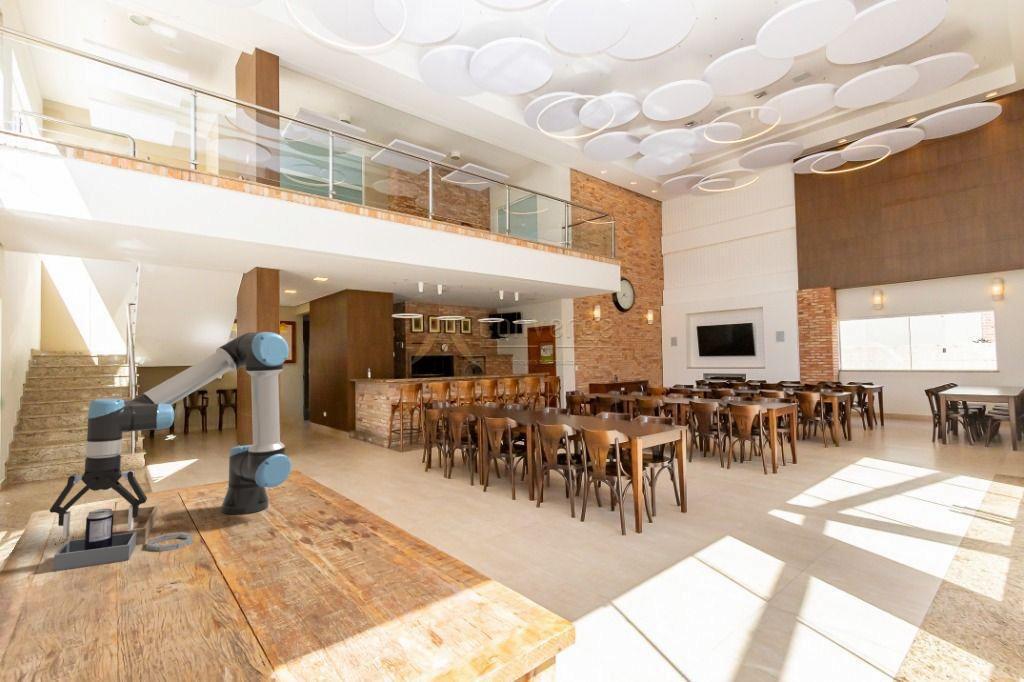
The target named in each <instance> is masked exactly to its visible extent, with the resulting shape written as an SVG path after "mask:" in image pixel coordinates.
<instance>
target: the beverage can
mask: <svg viewBox="0 0 1024 682" xmlns="http://www.w3.org/2000/svg"><path fill="white" fill-rule="evenodd" d="M112 511H113V509H111V508H99V509H94V510H91V511H89V512H88V515H87V516H86V520H85V532H84V533H85V534H84V535H85V536H84V537H85V549H84V550H92V549H99V548H107V547H112V533H113V532H114V529H113V528H114V525H113V516H114V514H113V512H112Z"/></svg>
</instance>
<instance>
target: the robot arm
mask: <svg viewBox="0 0 1024 682" xmlns="http://www.w3.org/2000/svg"><path fill="white" fill-rule="evenodd" d="M289 352H290V349H289V344H288V342H287V341H286V339H285V338H283V336H282V335H280V334H278V333H277V332H271V331H261V332H258V331H257V332H246V333H243V334H241V335H238V336H236V337H235V338H233V339H232V340H230V341H228V342H226V343H225V344H223V345H221V346H220V347H218V348H216V350H215V353H212V354H211V355H210V356H208V357H206V358H203V359H202V360H201V361H199V362H197V363H195V364H193V365H191V366H190V367H188V368H187V369H184V370H183V371H181V372H179V373H177V374H175V375H174V376H172V377H170V378H168V379H167V380H165V381H162V383H161V382H160V383H159V384H158V385H156V386H154V387H153V388H151V389H149V390H147V391H145V392H143V393H142V394H140V395H137V396H136V397H135V398H133V399H129V400H128V399H127V400H125V401H124V399H122V398H98V399H94V400H92V401H90V402H89V407H88V413H87V417H86V418H87V430H86V431H87V432H86V434H87V435H86V445H85V456H86V458H85V459H84V473H83V474H81V475H80V474H79V475H78V474H74V473H73V474H71V475H70V476H69V477H68V479H67V481H66V486H65V487H64V488H63V490H62V491H61V492H60V494H59V495H58V497H57V498H56V500H55V502H54V503H53V504H52V506H51V507H50V509H49V513H52V514H53V513H55V514H57V515H58V523H57V525H58V527H62V540H66V539H68V537H69V536H70V532H71V531H70V530H71V529H70V528H71V514H72V513H71V510H69V509H70V508H71V507H72V506H73V505H74V504H75V503H77V501H79V499H80V498H82V497H83V495H85V494H86V493H87V492H88V491H89V490H91V491H93V492H94V491H96V492H97V491H100V490H103V491H105V490H110V489H112V490H113V491H115V492H117V493H118V494H119V495H120V496H121V497H122V498H123V499H125V501H126V502H128V503H129V504H130V505H129V507H128V509H129V516H128V523H127V530H128V531H131V530H132V529H134V522H133V518H136V517H137V516H138V510H139V508H140V506H139V505H142V504H145V503H146V501H147V500H148V497H147V496H146V494H145V492H144V491H143V488H142V487H141V486H140V484H139V481H138V480H137V478H136V475H135V470H134V469H131V470H128V471H125V472H124V471H123V472H122V470H121V464H122V463H121V461H122V456H121V455H120V454H121V453H122V448H123V447H122V444H123V443H122V442H123V433H128V432H137V431H138V432H140V431H151V430H157V431H159V430H162V429H168V428H170V427H171V426H172V425H173V423H174V422H175V421H174V419H175V411H174V407H173V405H174V404H175V403H178V402H179V401H181V400H183V399H184V398H185V397H187V396H189V395H190V394H192V393H194V392H196V391H198V390H199V389H201V388H202V387H204V386H206V385H207V384H209V383H211V382H212V381H215V380H216V379H217V378H219V377H221V376H223V375H225V374H226V373H228V372H229V371H230V372H235V371H236V370H238V369H241V368H242V367H245V372H246V373H247V374H248V375H249V376H250V383H251V386H250V387H251V417H252V418H251V420H252V424H251V425H252V444H247V445H245V444H244V445H239V446H234V447H231V449H230V452H229V457H228V458H229V465H228V466H229V468H228V486H227V491H226V493H225V496H224V498H223V501H222V504H221V512H222V513H224V514H226V515H245V514H246V515H248V514H252V513H256V512H257V513H258V512H261V511H263V510H265V509H267V508H268V507H269V504H270V503H269V496H268V494H267V490H266V488H268V489H269V488H274V487H278V486H280V485H282V484H283V483H284V482H285V481H286V480H287V479H288V477H289V476H290V475H291V471H292V467H293V466H292V462H291V461H292V460H291V458H289V457H288V456H287V455H286V446H285V443H282V442H281V426H280V388H279V381H280V380H279V376H280V375H279V374H280V373H282V371H283V370H284V362H285V361H286V359H288V357H289ZM122 477H123V478H124V479H125V480H128V481H127V482H128V484H129V485H130V487H131V489H132V490H133V492H134V493H135V495H136V496H134V494H132V493H131V492H130V491H129V490H128V489H127V488H126V487H124V486H123V484H122V483H121V482H119V480H120V479H121V478H122ZM79 481H82V483H84V484H85V486H84V487H83V488H81V490H80V491H78V492H77V494H76V495H74V497H72V498H71V499H70V500H69V501H68V502H67V503H65V505H63V506H61V505H62V504H63V502H64V500H65V499H66V498H67V496H68V495H69V493H70V492H71V490H72V489H73V488H74V486H75V485H76V484H78V483H79Z"/></svg>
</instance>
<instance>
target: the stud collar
mask: <svg viewBox="0 0 1024 682" xmlns="http://www.w3.org/2000/svg"><path fill="white" fill-rule="evenodd" d="M173 539H184V540H180V541H178V542H174V543H168V544H158V543H159V542H162V541H165V540H173ZM193 540H194V533H192V532H191V533H190V532H189V533H188V532H179V531H178V532H172V533H166V534H161V535H157V536H155V537H152V538H150V539H147V541H146V542H147V543H145V544H146V545H145V549H146V550H147V551H153V552H162V551H163V552H164V551H171V550H177V549H180V548H182V547H185V546H188V545H191V544H192V543H193Z"/></svg>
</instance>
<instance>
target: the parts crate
mask: <svg viewBox="0 0 1024 682" xmlns="http://www.w3.org/2000/svg"><path fill="white" fill-rule="evenodd" d="M112 512H113V514H114V516H113V526H114V525H116V526H117V525H123V524H128V516H129V508H125V509H115V510H113V509H112ZM157 517H158V505H153V506H152V505H151V506H144V507H139V510H138V516H137V517H136V518H133V523H140V522H141V523H142V522H146V523H145V525H144V526H143V527H141V528H132V530H131V531H128V529H124V530H123V529H122V530H116V531H114V530H113V533H112V535H116V534H124V533H132V532H137V536H136V546H138V545H145V544H147V543H146V542H147V541H148V539H149V536H150V534H151V533H152V529H153V528H154V525H155V523H156V521H157Z"/></svg>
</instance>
